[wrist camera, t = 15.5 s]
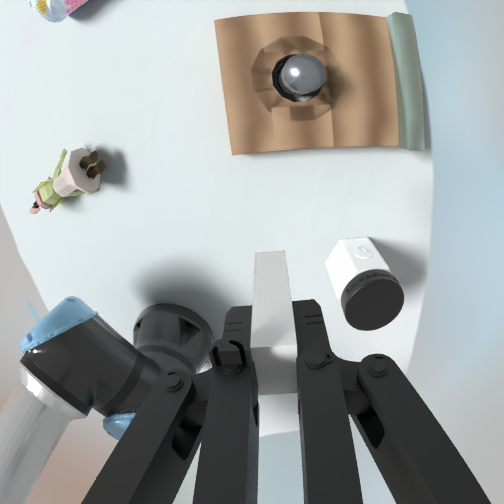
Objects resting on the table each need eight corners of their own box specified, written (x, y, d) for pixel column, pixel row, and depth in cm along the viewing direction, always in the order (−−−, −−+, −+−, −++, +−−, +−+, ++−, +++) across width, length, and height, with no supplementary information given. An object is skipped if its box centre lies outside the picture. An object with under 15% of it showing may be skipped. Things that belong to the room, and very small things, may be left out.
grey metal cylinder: (280, 97, 34) (286, 94, 27) (276, 65, 32) (280, 55, 25) (314, 94, 34) (328, 91, 27) (309, 63, 32) (322, 52, 25)
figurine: (90, 128, 35) (32, 170, 38) (68, 154, 30) (11, 198, 33) (120, 171, 41) (60, 205, 44) (105, 201, 36) (44, 234, 39)
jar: (381, 234, 42) (412, 275, 32) (375, 279, 46) (401, 326, 36) (325, 238, 43) (343, 282, 32) (324, 284, 47) (338, 335, 36)
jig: (234, 151, 38) (229, 159, 32) (217, 26, 30) (210, 13, 24) (404, 143, 36) (424, 150, 30) (393, 24, 28) (411, 15, 22)
